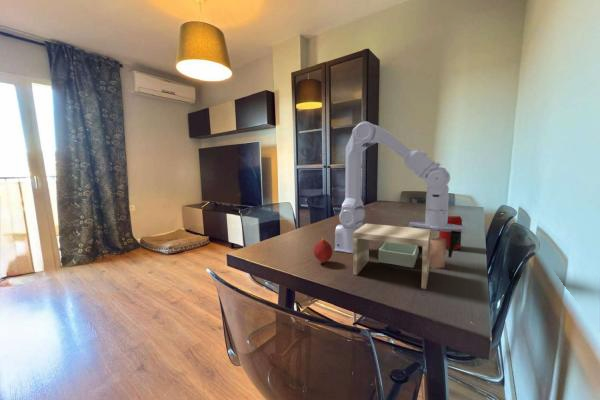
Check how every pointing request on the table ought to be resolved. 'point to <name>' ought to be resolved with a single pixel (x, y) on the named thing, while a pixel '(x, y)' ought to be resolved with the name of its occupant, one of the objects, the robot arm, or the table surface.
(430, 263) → the pink-tan solid cylinder
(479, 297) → the table surface
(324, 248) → the onion
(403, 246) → the tray
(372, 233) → the shelf
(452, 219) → the beverage can
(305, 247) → the table surface
